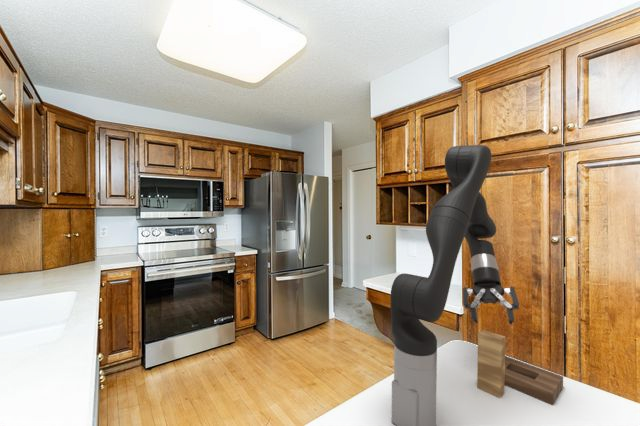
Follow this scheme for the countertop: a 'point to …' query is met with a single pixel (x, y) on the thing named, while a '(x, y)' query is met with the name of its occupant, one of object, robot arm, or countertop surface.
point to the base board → (532, 380)
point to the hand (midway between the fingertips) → (493, 322)
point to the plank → (491, 363)
